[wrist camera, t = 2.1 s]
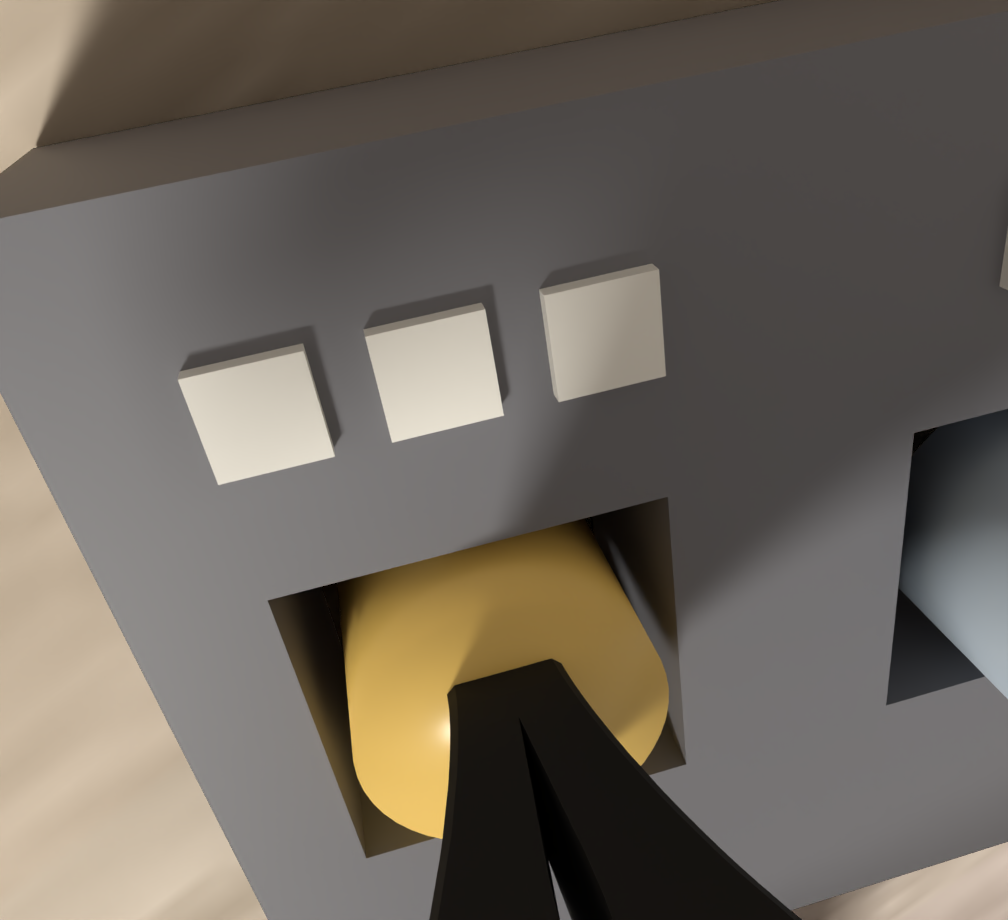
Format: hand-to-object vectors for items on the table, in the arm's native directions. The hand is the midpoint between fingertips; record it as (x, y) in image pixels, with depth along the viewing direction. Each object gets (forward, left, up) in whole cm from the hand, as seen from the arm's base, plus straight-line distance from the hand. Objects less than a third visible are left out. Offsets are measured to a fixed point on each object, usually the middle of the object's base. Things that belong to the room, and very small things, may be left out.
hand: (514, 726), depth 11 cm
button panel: (0, -8, -5) cm, 9 cm away
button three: (0, 0, -3) cm, 3 cm away
